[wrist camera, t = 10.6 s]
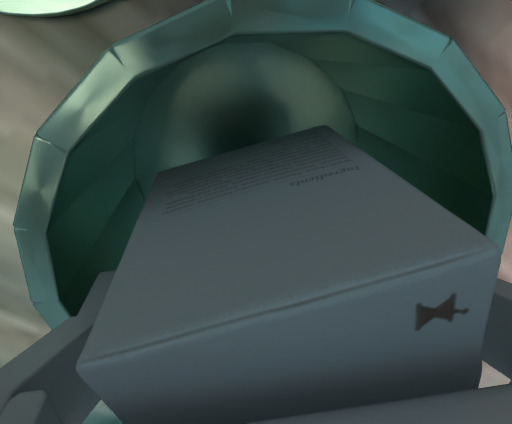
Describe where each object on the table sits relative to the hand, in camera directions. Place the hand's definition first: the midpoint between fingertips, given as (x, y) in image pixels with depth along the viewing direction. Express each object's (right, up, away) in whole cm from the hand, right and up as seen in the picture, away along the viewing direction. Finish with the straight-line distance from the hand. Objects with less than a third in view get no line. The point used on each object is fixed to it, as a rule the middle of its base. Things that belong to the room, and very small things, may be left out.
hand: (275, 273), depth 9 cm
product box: (0, +2, +3) cm, 3 cm away
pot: (-1, +4, +8) cm, 9 cm away
